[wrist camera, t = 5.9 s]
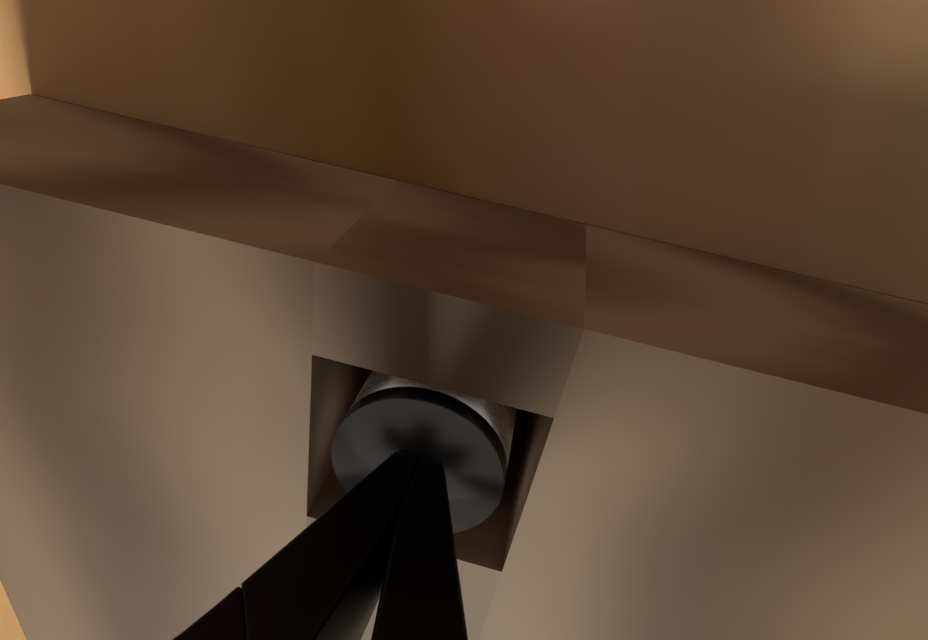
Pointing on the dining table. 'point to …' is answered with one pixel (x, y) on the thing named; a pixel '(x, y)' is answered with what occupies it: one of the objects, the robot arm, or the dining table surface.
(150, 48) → the dining table surface
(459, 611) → the robot arm
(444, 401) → the black capped peg
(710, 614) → the walnut block
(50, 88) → the dining table surface
